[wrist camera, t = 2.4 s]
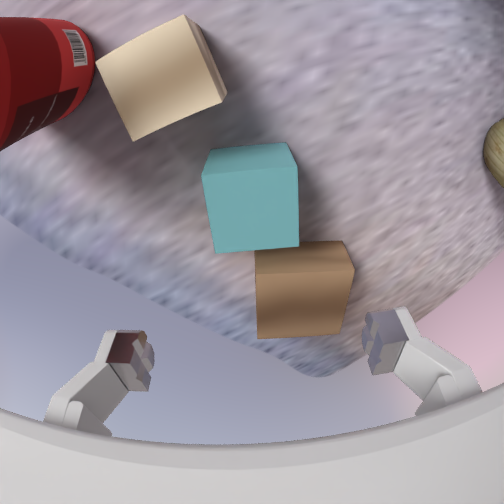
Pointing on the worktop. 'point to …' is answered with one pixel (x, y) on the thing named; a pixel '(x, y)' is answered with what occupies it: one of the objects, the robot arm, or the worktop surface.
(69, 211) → the worktop surface
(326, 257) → the walnut slab
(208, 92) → the birch cube
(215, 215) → the teal cube
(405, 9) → the worktop surface
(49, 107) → the canned food
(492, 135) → the fennel bulb
